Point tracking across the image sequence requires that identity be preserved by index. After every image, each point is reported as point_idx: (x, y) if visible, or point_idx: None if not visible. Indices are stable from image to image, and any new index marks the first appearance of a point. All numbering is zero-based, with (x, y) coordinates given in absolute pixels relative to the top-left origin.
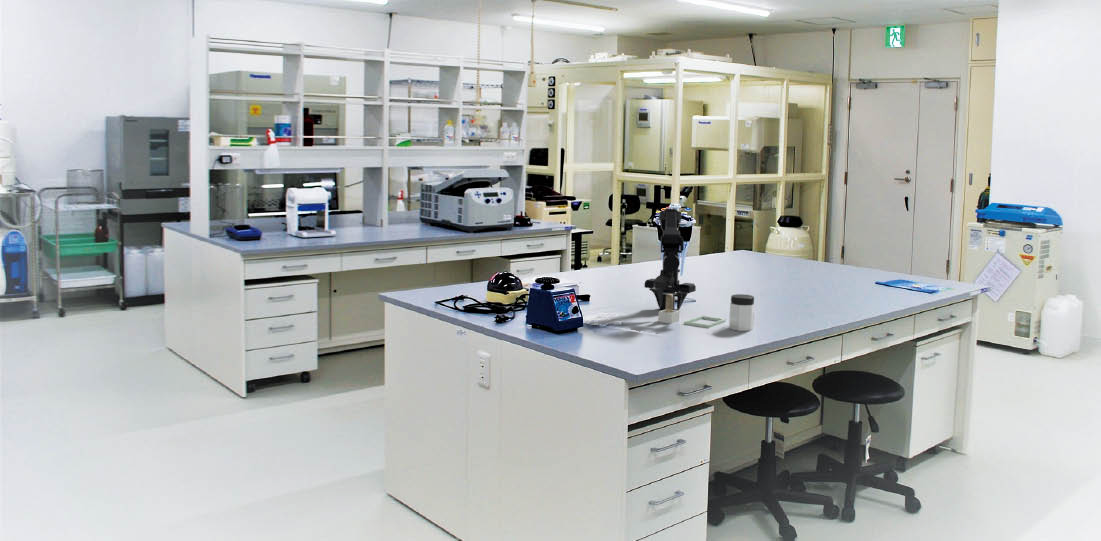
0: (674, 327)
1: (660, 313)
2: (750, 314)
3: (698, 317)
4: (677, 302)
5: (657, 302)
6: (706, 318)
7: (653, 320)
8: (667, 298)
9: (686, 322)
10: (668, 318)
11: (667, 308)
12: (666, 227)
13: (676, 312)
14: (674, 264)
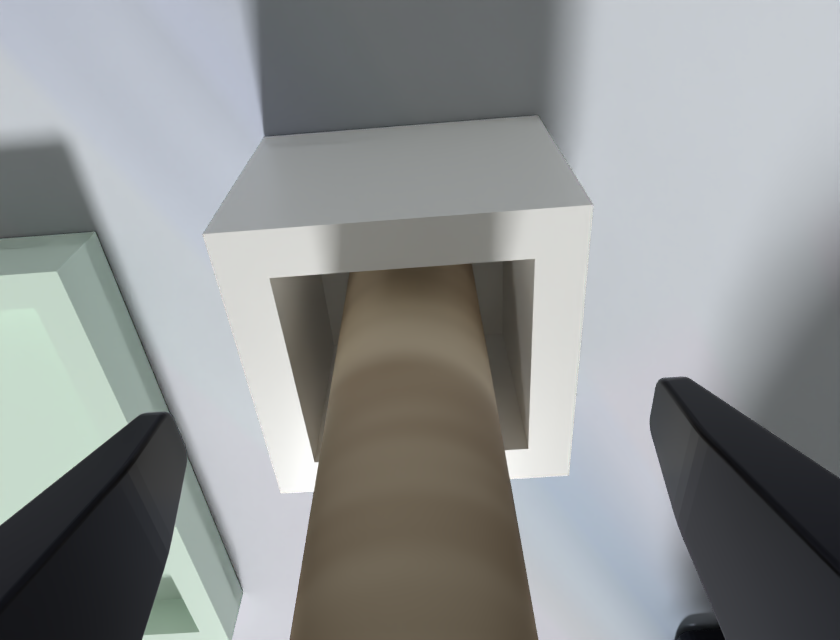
0: (113, 35)
1: (528, 192)
2: None
3: (173, 570)
4: (26, 557)
5: (786, 446)
6: (159, 614)
7: (710, 258)
8: (412, 617)
9: (16, 268)
10: (314, 175)
11: (401, 358)
12: None
13: (256, 405)
14: None
